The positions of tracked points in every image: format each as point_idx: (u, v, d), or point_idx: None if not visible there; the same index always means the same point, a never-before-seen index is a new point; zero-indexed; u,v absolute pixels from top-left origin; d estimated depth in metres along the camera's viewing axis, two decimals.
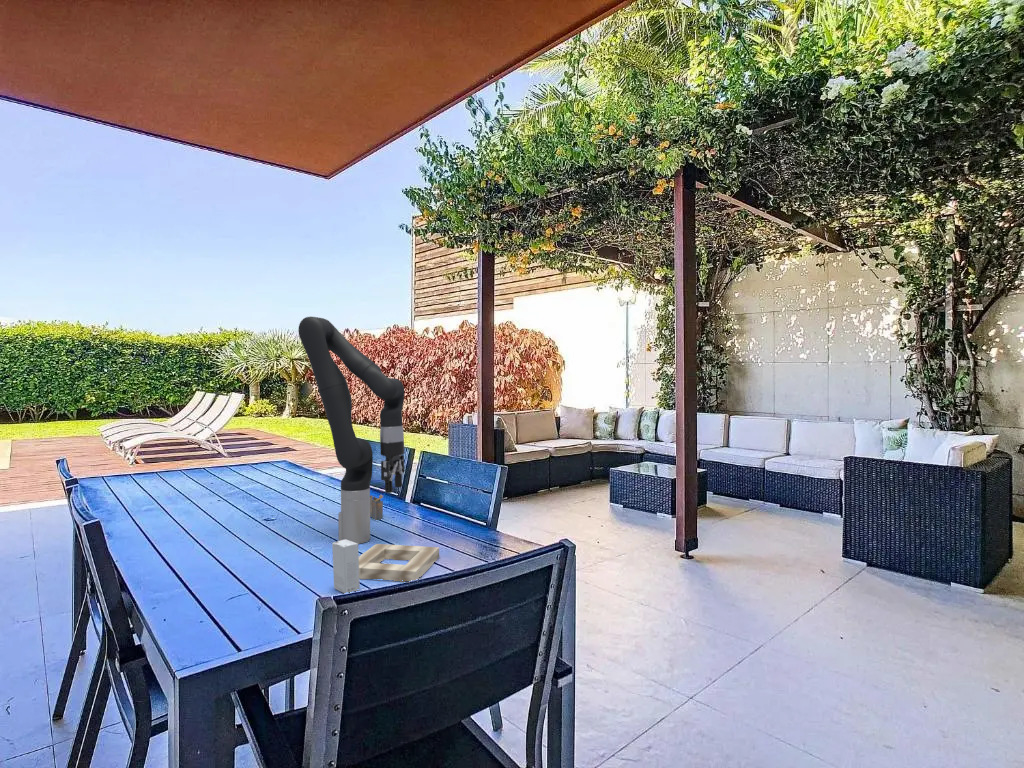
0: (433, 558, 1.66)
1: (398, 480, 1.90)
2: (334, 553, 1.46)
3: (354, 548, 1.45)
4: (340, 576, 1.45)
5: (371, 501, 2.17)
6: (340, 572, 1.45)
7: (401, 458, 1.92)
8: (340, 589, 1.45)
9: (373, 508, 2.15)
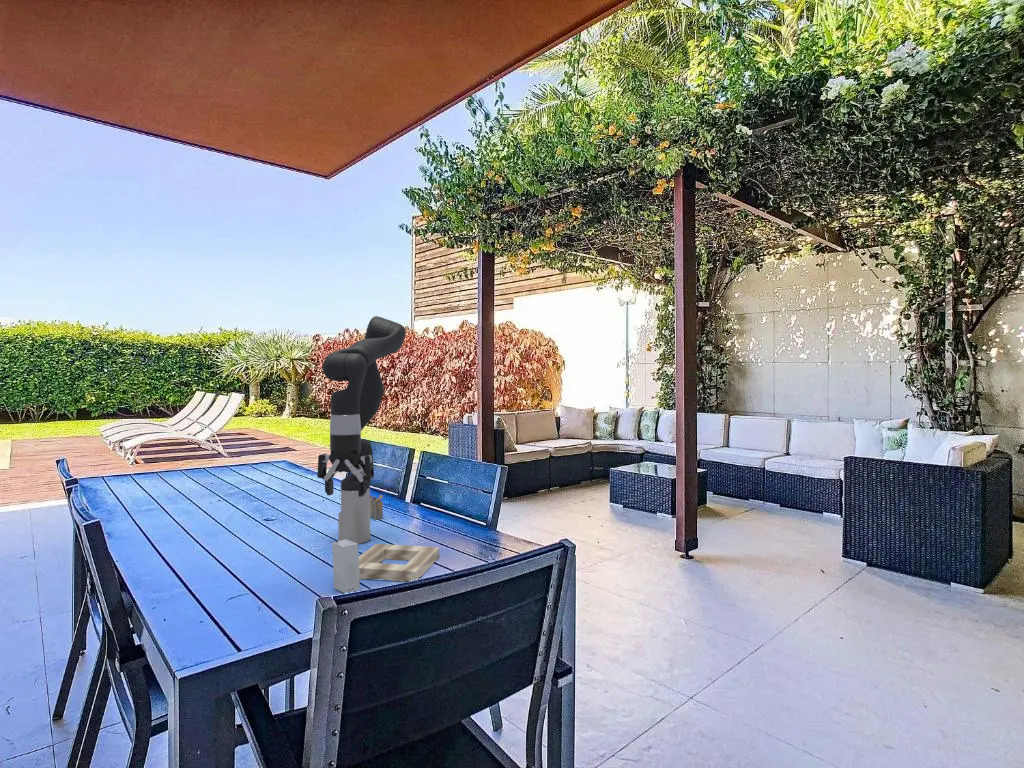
0: (433, 558, 1.66)
1: (331, 485, 1.47)
2: (334, 553, 1.46)
3: (354, 548, 1.45)
4: (339, 576, 1.45)
5: (371, 501, 2.17)
6: (340, 572, 1.45)
7: None
8: (340, 589, 1.45)
9: (373, 508, 2.15)
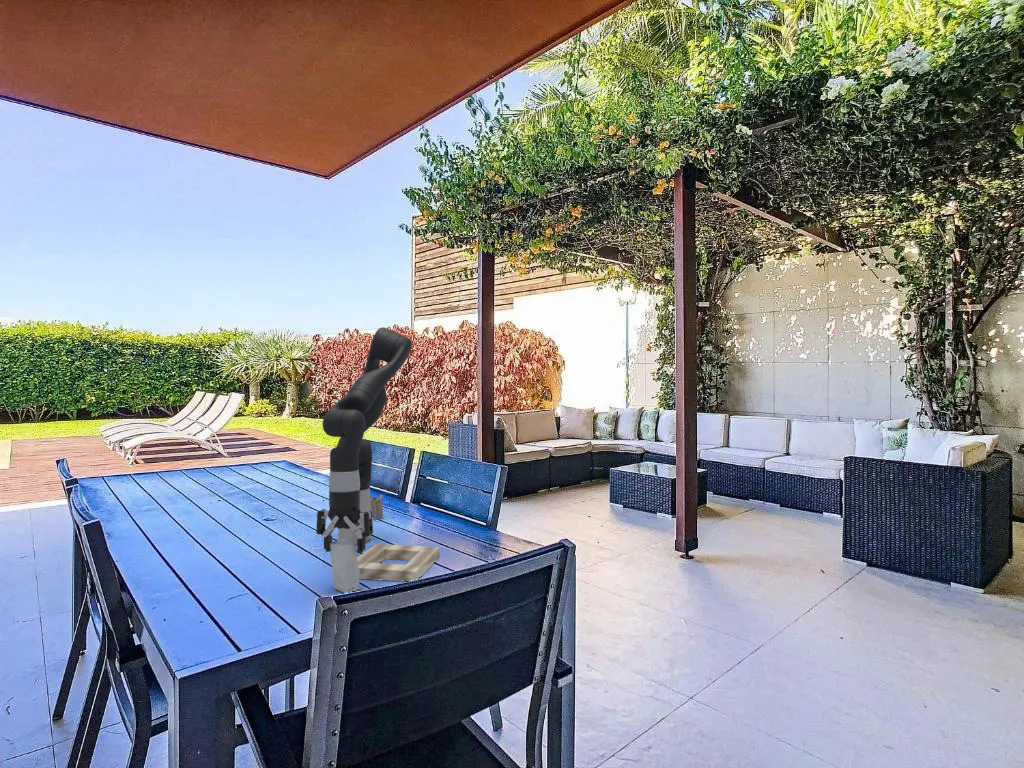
0: (433, 558, 1.66)
1: (330, 541, 1.47)
2: (332, 554, 1.46)
3: (352, 548, 1.45)
4: (339, 576, 1.45)
5: (371, 501, 2.17)
6: (339, 572, 1.44)
7: None
8: (340, 589, 1.45)
9: (373, 508, 2.15)
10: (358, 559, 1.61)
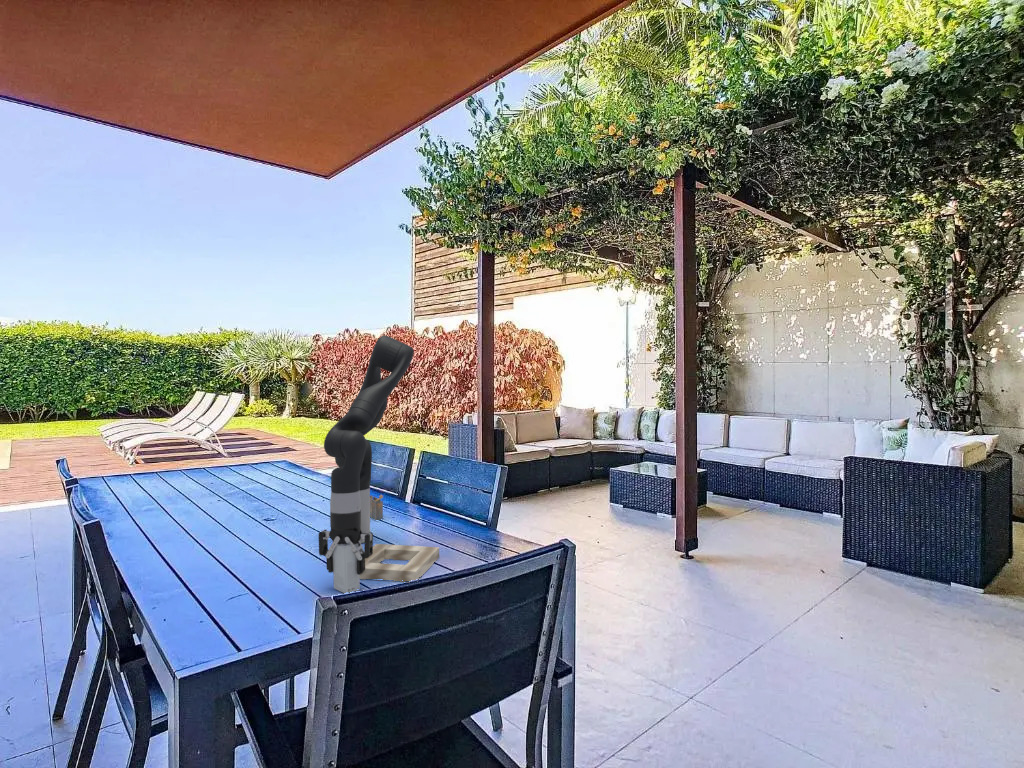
0: (433, 558, 1.66)
1: None
2: (334, 553, 1.46)
3: None
4: (340, 576, 1.45)
5: (371, 501, 2.17)
6: (340, 572, 1.45)
7: None
8: (340, 589, 1.45)
9: (373, 508, 2.15)
10: None
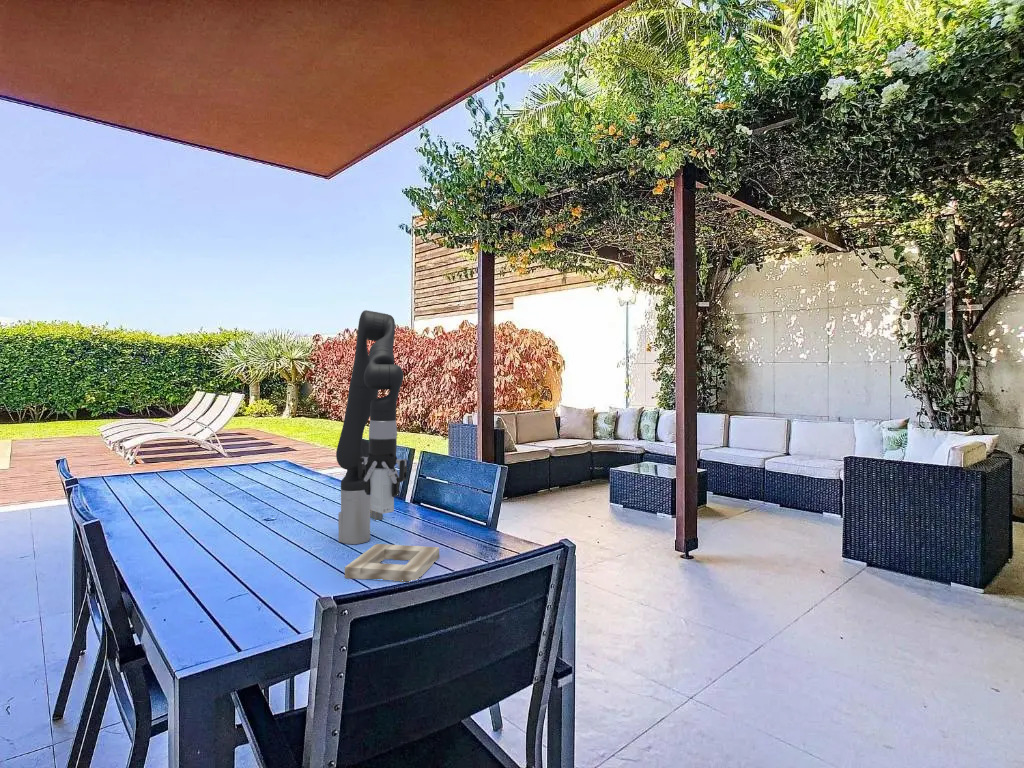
0: (433, 558, 1.66)
1: None
2: (371, 477, 1.59)
3: None
4: (376, 497, 1.58)
5: None
6: (377, 494, 1.58)
7: None
8: (376, 509, 1.58)
9: None
10: (358, 559, 1.61)
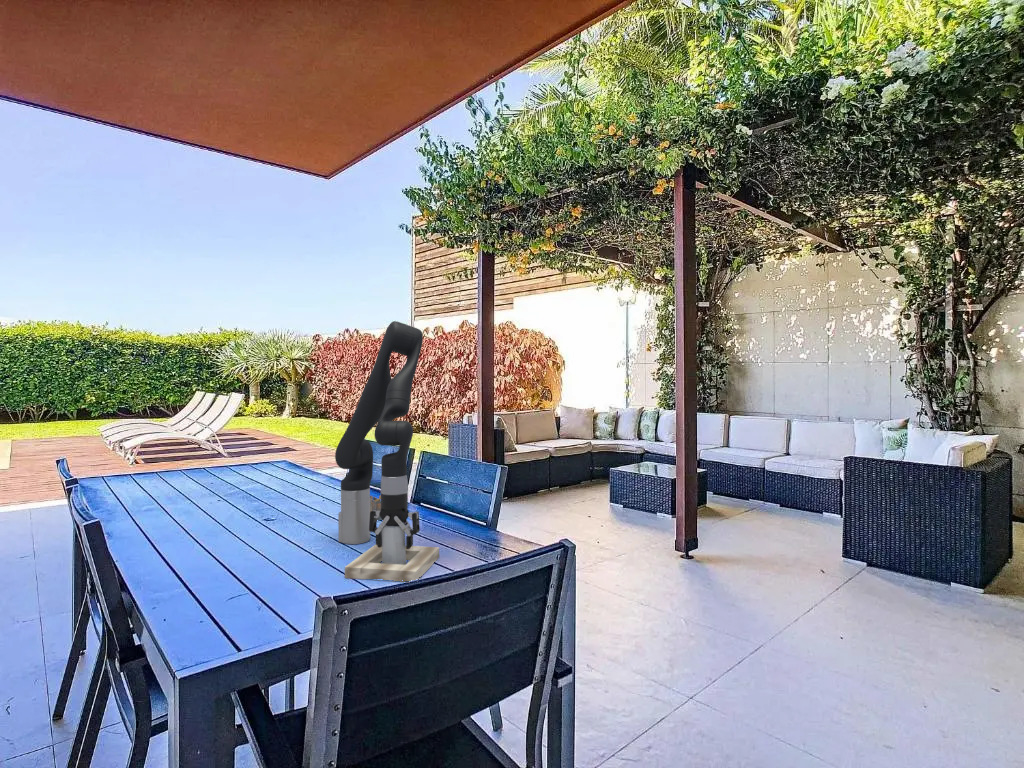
0: (433, 558, 1.66)
1: (381, 538, 1.64)
2: (383, 534, 1.63)
3: (401, 529, 1.62)
4: (388, 555, 1.62)
5: (371, 501, 2.17)
6: (389, 551, 1.62)
7: None
8: None
9: (373, 508, 2.15)
10: (358, 559, 1.61)
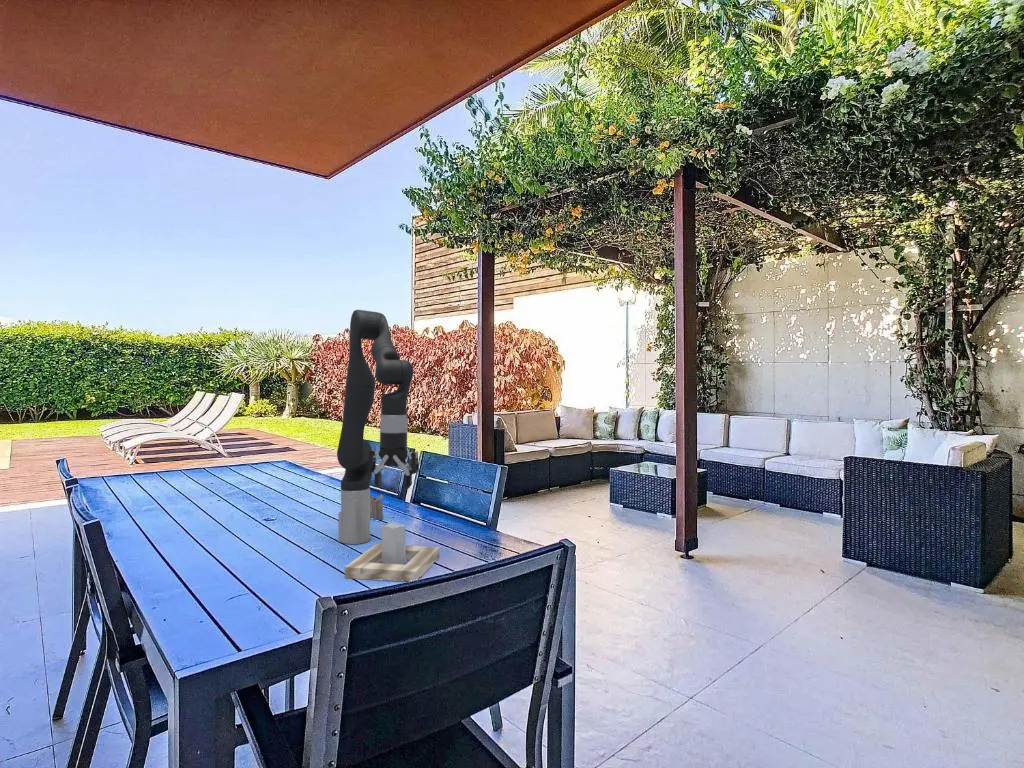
0: (433, 558, 1.66)
1: (380, 478, 1.64)
2: (383, 534, 1.63)
3: (401, 529, 1.62)
4: (388, 555, 1.62)
5: (371, 501, 2.17)
6: (389, 551, 1.62)
7: None
8: None
9: (373, 508, 2.15)
10: (358, 559, 1.61)
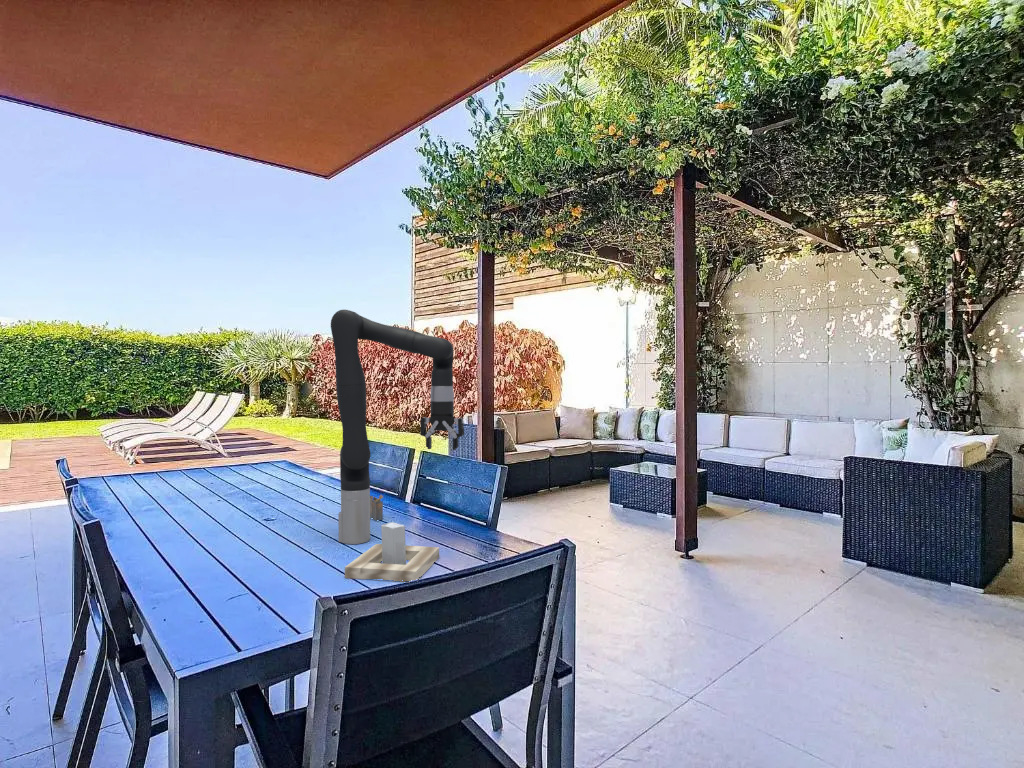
0: (433, 558, 1.66)
1: (430, 441, 1.89)
2: (383, 534, 1.63)
3: (401, 529, 1.62)
4: (388, 555, 1.62)
5: (371, 501, 2.17)
6: (389, 551, 1.62)
7: None
8: None
9: (373, 508, 2.15)
10: (358, 559, 1.61)
